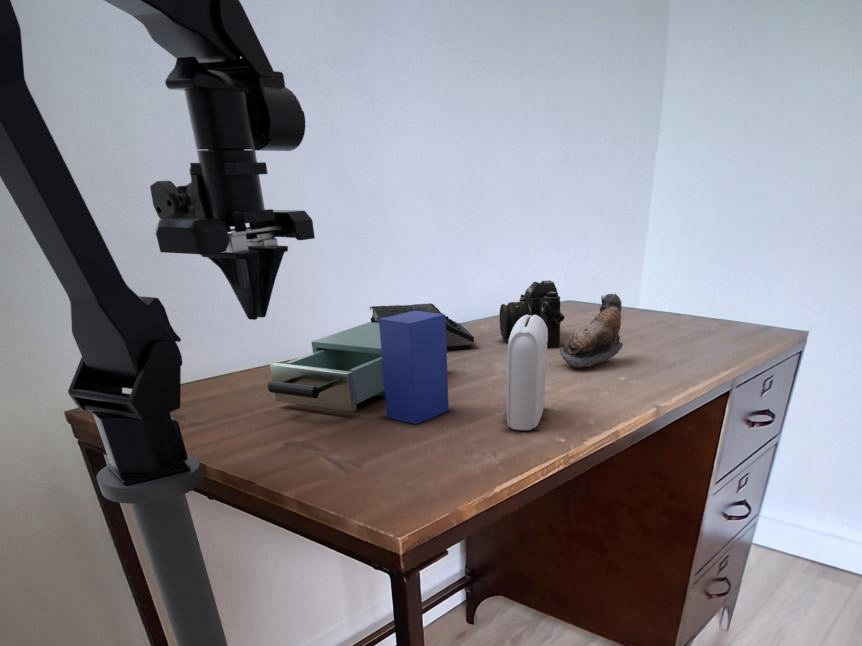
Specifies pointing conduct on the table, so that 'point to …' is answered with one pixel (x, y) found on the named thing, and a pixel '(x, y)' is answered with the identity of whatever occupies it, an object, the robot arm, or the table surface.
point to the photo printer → (526, 372)
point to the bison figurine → (596, 336)
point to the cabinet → (353, 341)
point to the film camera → (535, 310)
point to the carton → (414, 365)
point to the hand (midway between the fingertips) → (257, 318)
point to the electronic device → (454, 331)
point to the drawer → (328, 379)
